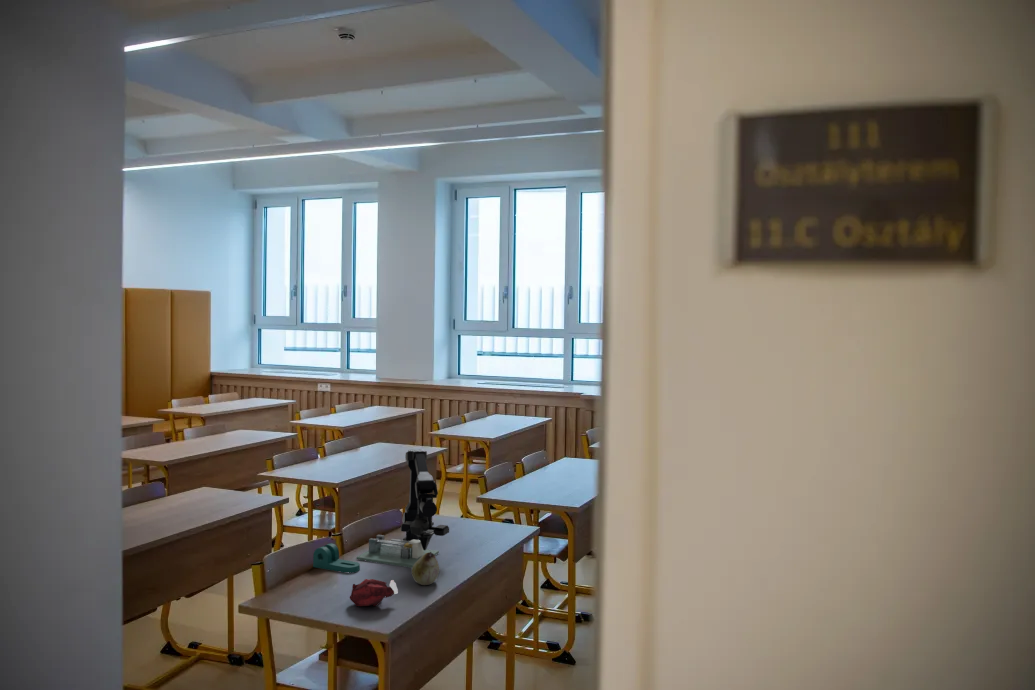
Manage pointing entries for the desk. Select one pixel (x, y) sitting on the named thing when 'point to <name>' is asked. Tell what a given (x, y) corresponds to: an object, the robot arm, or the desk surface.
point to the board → (392, 558)
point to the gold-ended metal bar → (393, 543)
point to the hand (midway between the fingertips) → (424, 550)
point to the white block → (416, 548)
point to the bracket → (333, 560)
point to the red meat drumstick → (371, 592)
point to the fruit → (426, 569)
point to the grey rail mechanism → (389, 548)
